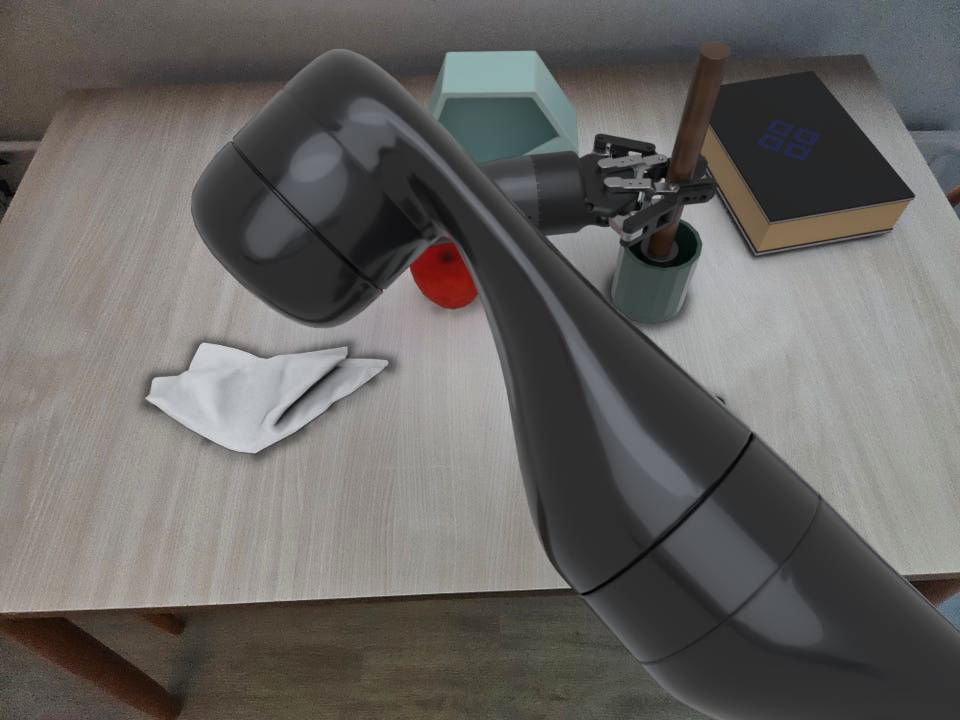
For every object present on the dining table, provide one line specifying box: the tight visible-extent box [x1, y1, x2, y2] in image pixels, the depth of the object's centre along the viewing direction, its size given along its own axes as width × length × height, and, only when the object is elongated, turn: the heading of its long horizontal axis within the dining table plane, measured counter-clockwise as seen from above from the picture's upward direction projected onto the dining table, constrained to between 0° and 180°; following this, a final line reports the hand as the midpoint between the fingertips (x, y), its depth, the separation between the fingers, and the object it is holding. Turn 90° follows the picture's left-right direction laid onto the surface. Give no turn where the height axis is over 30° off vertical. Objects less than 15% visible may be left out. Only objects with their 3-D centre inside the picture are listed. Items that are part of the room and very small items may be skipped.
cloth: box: [144, 342, 390, 454], centre depth 69 cm, size 26×14×2 cm, turn 85°
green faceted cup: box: [610, 218, 703, 324], centre depth 71 cm, size 8×8×9 cm
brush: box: [637, 41, 732, 268], centre depth 61 cm, size 4×4×28 cm
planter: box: [426, 50, 580, 163], centre depth 78 cm, size 17×8×21 cm
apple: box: [409, 244, 479, 310], centre depth 73 cm, size 9×9×8 cm
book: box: [700, 70, 917, 257], centre depth 82 cm, size 17×25×7 cm
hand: (708, 177), depth 61 cm, fingers closed on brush, 2 cm apart
